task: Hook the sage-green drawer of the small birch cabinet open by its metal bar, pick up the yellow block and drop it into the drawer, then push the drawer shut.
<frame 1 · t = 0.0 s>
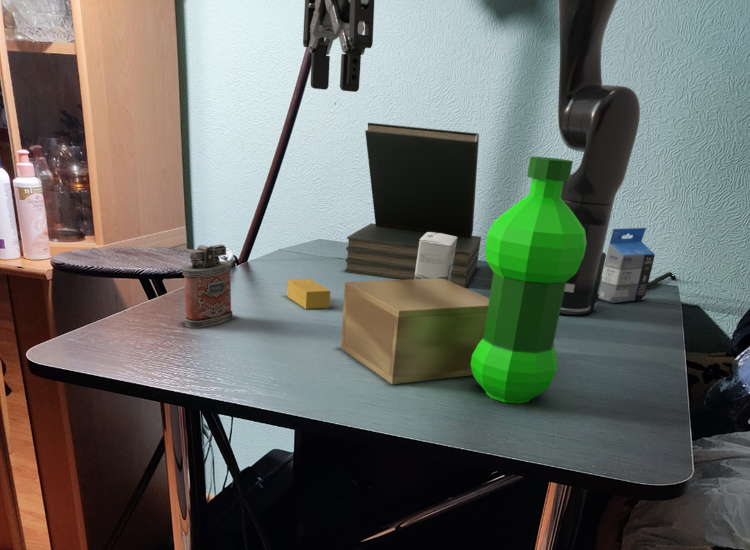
hand: (333, 90, 89), 29 cm above the table, tool pointing down, fingers open, 8 cm apart
lighter: (209, 322, 100), on the table
ink box: (428, 318, 111), on the table
plastic bottle: (508, 396, 84), on the table
drawer: (452, 325, 92), point 4 cm above the table, slide at 0.5 cm
label tape box: (620, 300, 133), on the table
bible: (413, 270, 142), on the table
yellow block: (307, 302, 113), on the table
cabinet: (415, 360, 92), on the table
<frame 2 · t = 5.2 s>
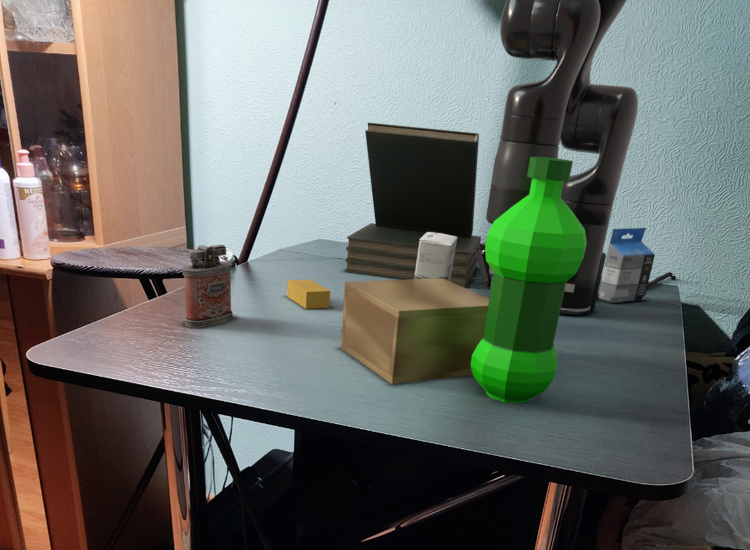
hand: (498, 324, 96), 4 cm above the table, tool pointing down, fingers closed
drawer: (456, 324, 93), point 4 cm above the table, slide at 1.0 cm
everything else where it was.
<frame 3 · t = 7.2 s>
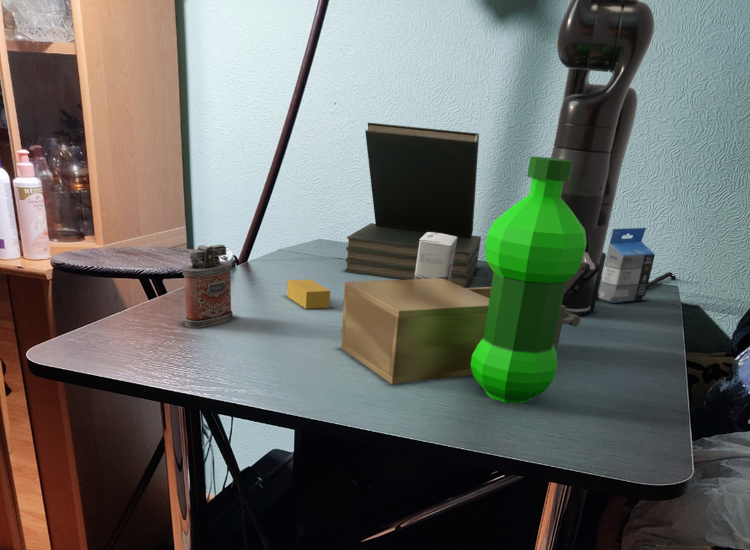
hand: (546, 323, 100), 4 cm above the table, tool pointing down, fingers closed
drawer: (507, 321, 96), point 4 cm above the table, slide at 9.4 cm
everything else where it was.
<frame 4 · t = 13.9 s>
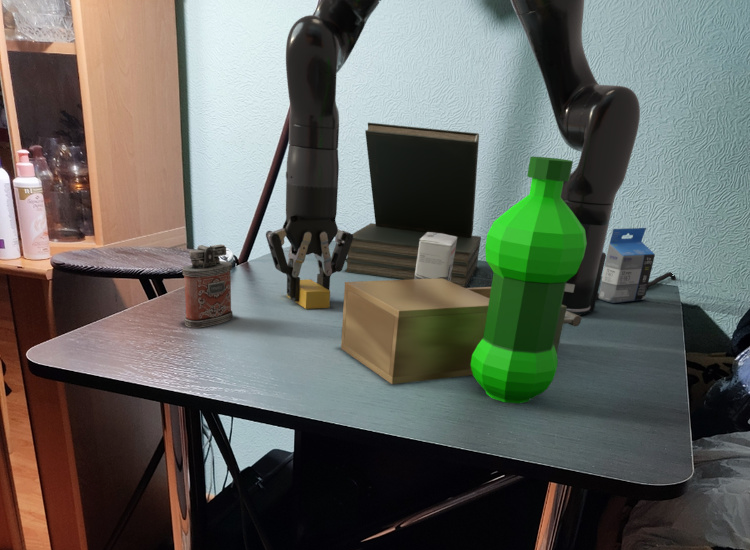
hand: (308, 299, 113), 0 cm above the table, tool pointing down, fingers closed on yellow block, 4 cm apart
yellow block: (307, 302, 113), on the table, touching gripper
everything else where it was.
when the fingers open (6 cm above the table, at t = 21.5 s): yellow block drops 4 cm, resting on drawer.
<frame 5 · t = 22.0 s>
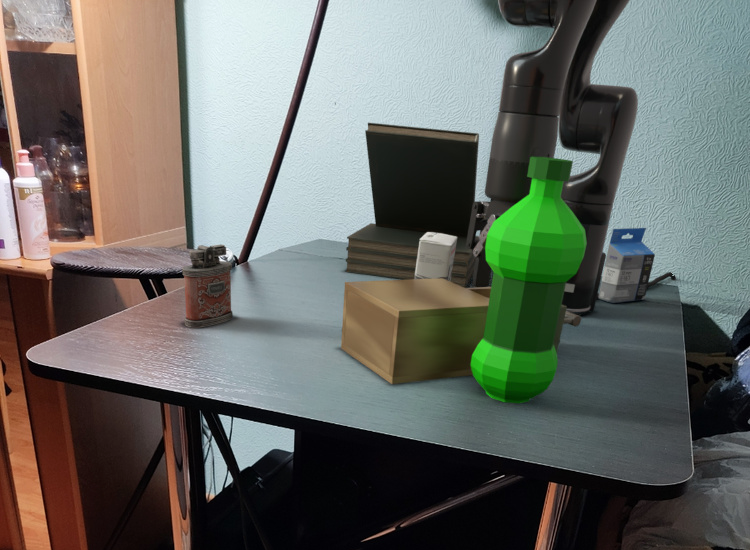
hand: (499, 294, 94), 8 cm above the table, tool pointing down, fingers open, 8 cm apart
drawer: (508, 320, 96), point 4 cm above the table, slide at 9.6 cm, touching yellow block
yellow block: (492, 339, 96), point 2 cm above the table, touching drawer
everything else where it was.
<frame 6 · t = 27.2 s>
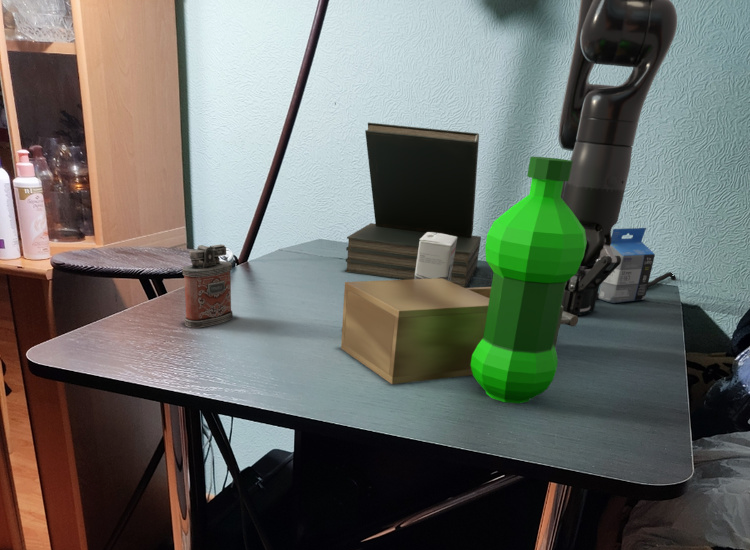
hand: (567, 316, 101), 4 cm above the table, tool pointing down, fingers closed
drawer: (505, 321, 96), point 4 cm above the table, slide at 9.1 cm, touching yellow block
everything else where it was.
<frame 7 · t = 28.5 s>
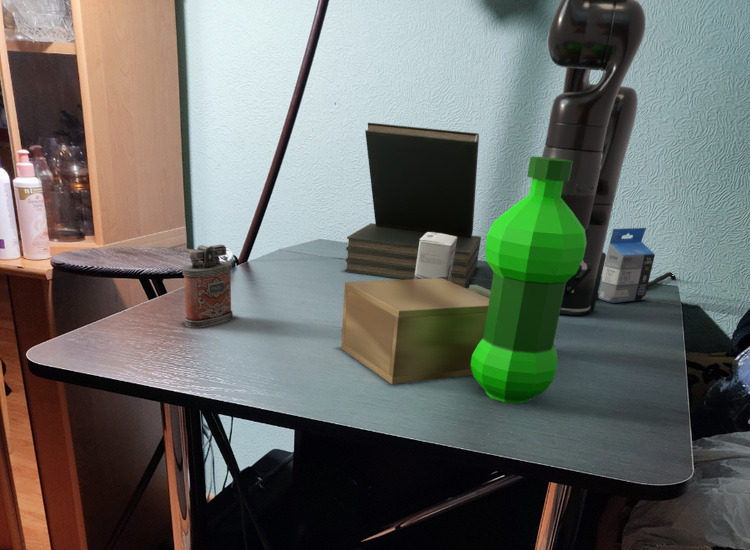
hand: (539, 324, 99), 4 cm above the table, tool pointing down, fingers closed
drawer: (475, 323, 94), point 4 cm above the table, slide at 4.1 cm, touching yellow block, gripper
yellow block: (459, 342, 94), point 2 cm above the table, touching drawer
everything else where it was.
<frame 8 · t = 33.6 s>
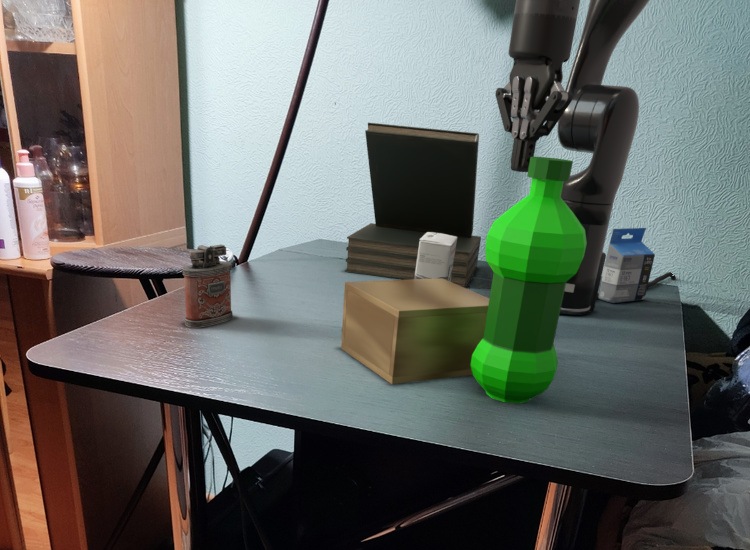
hand: (519, 171, 95), 22 cm above the table, tool pointing down, fingers closed
drawer: (449, 325, 92), point 4 cm above the table, slide at 0.0 cm, touching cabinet, yellow block
yellow block: (432, 344, 92), point 2 cm above the table, touching drawer
everything else where it was.
at the end: drawer pulled out 9.6 cm at the most during the clip, back to where it started at the end; yellow block inside the target area in the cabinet (2.2 cm from its centre), point 2.0 cm above the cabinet's base; drawer slide at 0.0 cm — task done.
